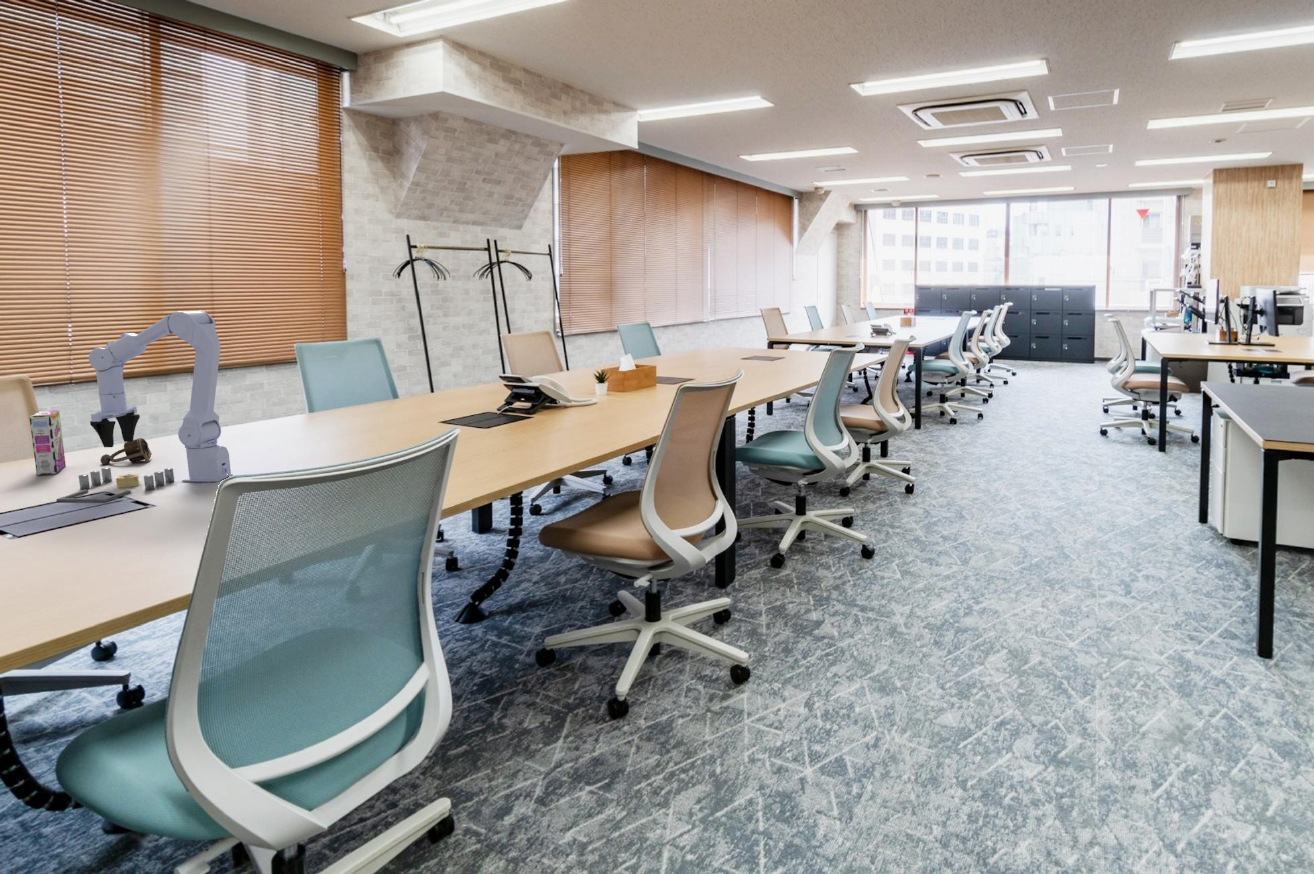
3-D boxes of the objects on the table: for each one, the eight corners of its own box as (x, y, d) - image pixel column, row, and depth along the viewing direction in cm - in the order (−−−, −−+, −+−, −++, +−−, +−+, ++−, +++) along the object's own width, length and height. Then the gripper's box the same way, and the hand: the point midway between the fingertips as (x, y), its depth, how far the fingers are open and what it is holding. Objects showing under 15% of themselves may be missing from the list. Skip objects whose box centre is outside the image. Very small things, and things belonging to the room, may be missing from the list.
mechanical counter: (136, 448, 234) (157, 434, 243) (91, 444, 234) (113, 430, 243) (140, 471, 237) (160, 456, 246) (96, 467, 237) (118, 452, 246)
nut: (139, 482, 216) (138, 473, 215) (137, 486, 211) (136, 477, 211) (119, 484, 214) (117, 475, 213) (116, 488, 209) (115, 479, 208)
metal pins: (176, 481, 217) (174, 468, 216) (151, 490, 207) (149, 476, 206) (106, 480, 218) (104, 467, 217) (78, 489, 208) (76, 476, 207)
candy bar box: (58, 474, 225) (50, 415, 222) (36, 476, 223) (27, 416, 220) (67, 466, 235) (59, 409, 232) (46, 468, 233) (38, 410, 230)
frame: (130, 492, 205) (130, 490, 204) (105, 502, 196) (104, 499, 196) (84, 492, 205) (84, 489, 205) (56, 501, 196) (56, 499, 196)
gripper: (116, 390, 224) (123, 439, 226) (76, 397, 209) (84, 449, 212) (141, 390, 223) (147, 439, 226) (103, 397, 209) (110, 449, 212)
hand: (118, 444), depth 219 cm, fingers open, 7 cm apart
